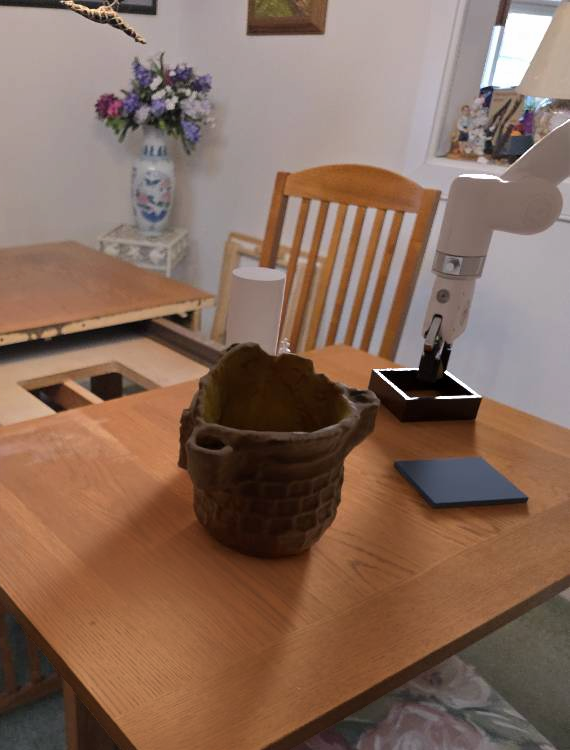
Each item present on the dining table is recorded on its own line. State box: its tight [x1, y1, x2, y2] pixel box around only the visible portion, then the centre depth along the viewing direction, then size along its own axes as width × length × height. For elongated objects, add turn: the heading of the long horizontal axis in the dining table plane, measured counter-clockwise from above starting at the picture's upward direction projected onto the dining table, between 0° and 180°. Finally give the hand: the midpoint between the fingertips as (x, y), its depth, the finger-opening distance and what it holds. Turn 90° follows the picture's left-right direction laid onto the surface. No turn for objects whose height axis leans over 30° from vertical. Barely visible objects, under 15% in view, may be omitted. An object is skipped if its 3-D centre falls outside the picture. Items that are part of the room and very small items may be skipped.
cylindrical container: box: [224, 266, 287, 356], centre depth 100 cm, size 7×7×25 cm
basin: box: [367, 367, 483, 423], centre depth 122 cm, size 14×14×4 cm
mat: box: [393, 456, 530, 509], centre depth 100 cm, size 14×12×1 cm
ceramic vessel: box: [177, 342, 381, 559], centre depth 81 cm, size 23×24×25 cm
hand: (431, 374), depth 120 cm, fingers closed on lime, 4 cm apart
